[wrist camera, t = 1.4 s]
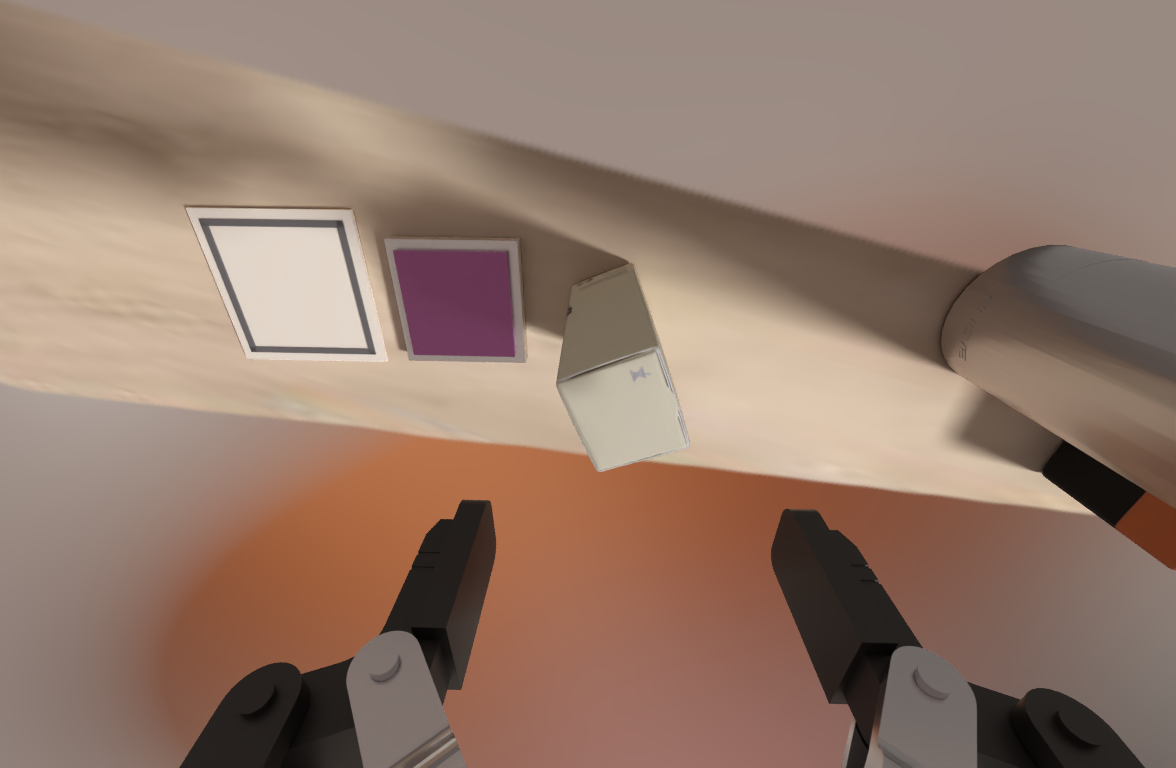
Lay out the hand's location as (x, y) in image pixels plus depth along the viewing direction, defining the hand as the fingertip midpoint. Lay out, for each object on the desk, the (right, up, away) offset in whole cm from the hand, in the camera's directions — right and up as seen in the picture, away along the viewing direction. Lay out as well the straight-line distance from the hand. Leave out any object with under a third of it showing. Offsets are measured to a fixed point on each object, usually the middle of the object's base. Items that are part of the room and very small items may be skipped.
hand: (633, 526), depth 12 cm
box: (+1, +9, +17) cm, 19 cm away
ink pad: (-9, +9, +16) cm, 21 cm away
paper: (-20, +10, +16) cm, 28 cm away
